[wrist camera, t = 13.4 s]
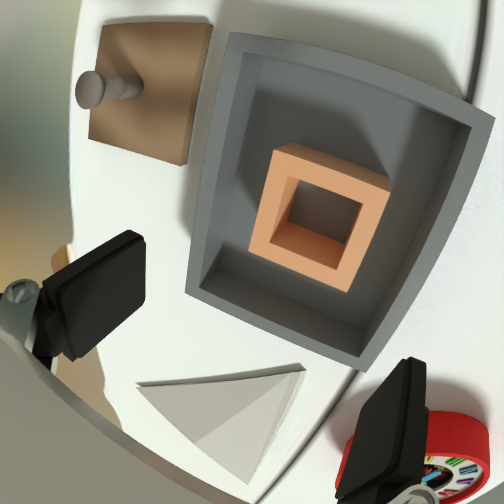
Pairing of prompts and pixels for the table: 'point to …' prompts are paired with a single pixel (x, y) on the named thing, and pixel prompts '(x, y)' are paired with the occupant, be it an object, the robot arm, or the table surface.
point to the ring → (308, 242)
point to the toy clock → (451, 456)
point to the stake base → (146, 87)
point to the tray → (325, 201)
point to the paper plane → (229, 416)
